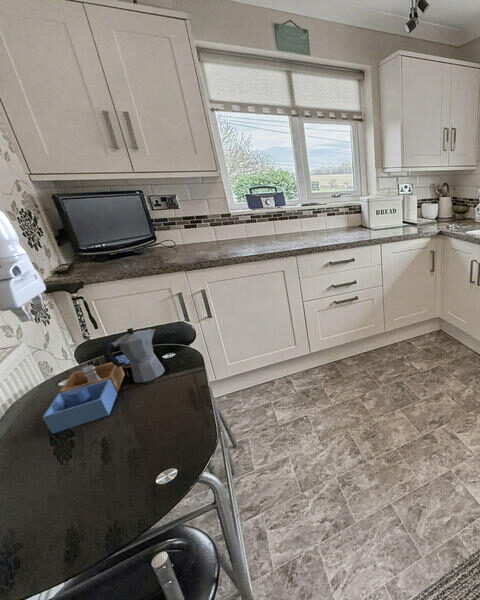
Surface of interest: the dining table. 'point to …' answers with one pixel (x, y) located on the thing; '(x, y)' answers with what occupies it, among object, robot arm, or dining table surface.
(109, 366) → the oak bin
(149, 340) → the coffeepot
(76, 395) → the blue peg
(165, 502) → the dining table surface
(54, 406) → the blue bin
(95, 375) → the rook chess piece
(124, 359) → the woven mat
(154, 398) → the dining table surface
